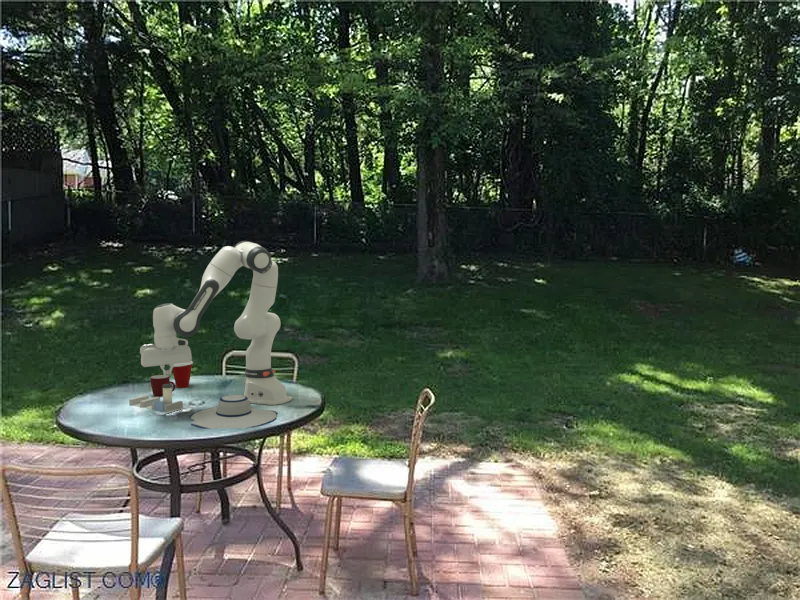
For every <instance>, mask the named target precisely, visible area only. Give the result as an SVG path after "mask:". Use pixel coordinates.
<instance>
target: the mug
mask: <svg viewBox="0 0 800 600" xmlns="http://www.w3.org/2000/svg"><path fill="white" fill-rule="evenodd" d="M163 384H172V393H173V392H174V391H175V390H176V383H175V382H174V381H172V380H171V381H170V375H165V376H164V374H158V375H152V376H150V386H151V387H150V388H151V391H152V395H153V397H160V398H163V386H162V385H163Z"/></svg>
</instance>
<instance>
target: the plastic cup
mask: <svg viewBox="0 0 800 600" xmlns="http://www.w3.org/2000/svg"><path fill="white" fill-rule="evenodd" d="M193 364H194V362H193V361H192V360H191V361H190V362H185V363H176V364H174V367H173V369H172V373H173V374H172V375H173V379H174V381H175V382H174V384H175V388H178V389H186V388H189V387H190V380H191V375H192V374H191V373H192V367H193Z"/></svg>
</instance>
